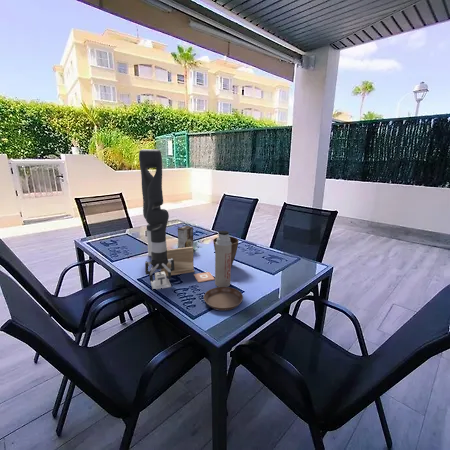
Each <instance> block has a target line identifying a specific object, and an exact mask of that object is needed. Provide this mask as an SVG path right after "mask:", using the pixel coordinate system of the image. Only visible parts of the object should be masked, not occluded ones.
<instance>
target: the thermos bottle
mask: <svg viewBox="0 0 450 450" xmlns="http://www.w3.org/2000/svg"><path fill="white" fill-rule="evenodd" d="M229 235H230V234H229V231H228V230H219V231H218V238H217V237H216V238H217V242H216V243H215V249H214V255H215V257H214V259H215V260H214V261H215V262H214V264H215V265H214V271H215V272H214V279H215V280H214V284H215V286H216V287H230V285H231V276H232V275H231V274H232V273H231V272H232V266H231V244H232V243H231V242H230V238H229V237H230V236H229Z"/></svg>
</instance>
